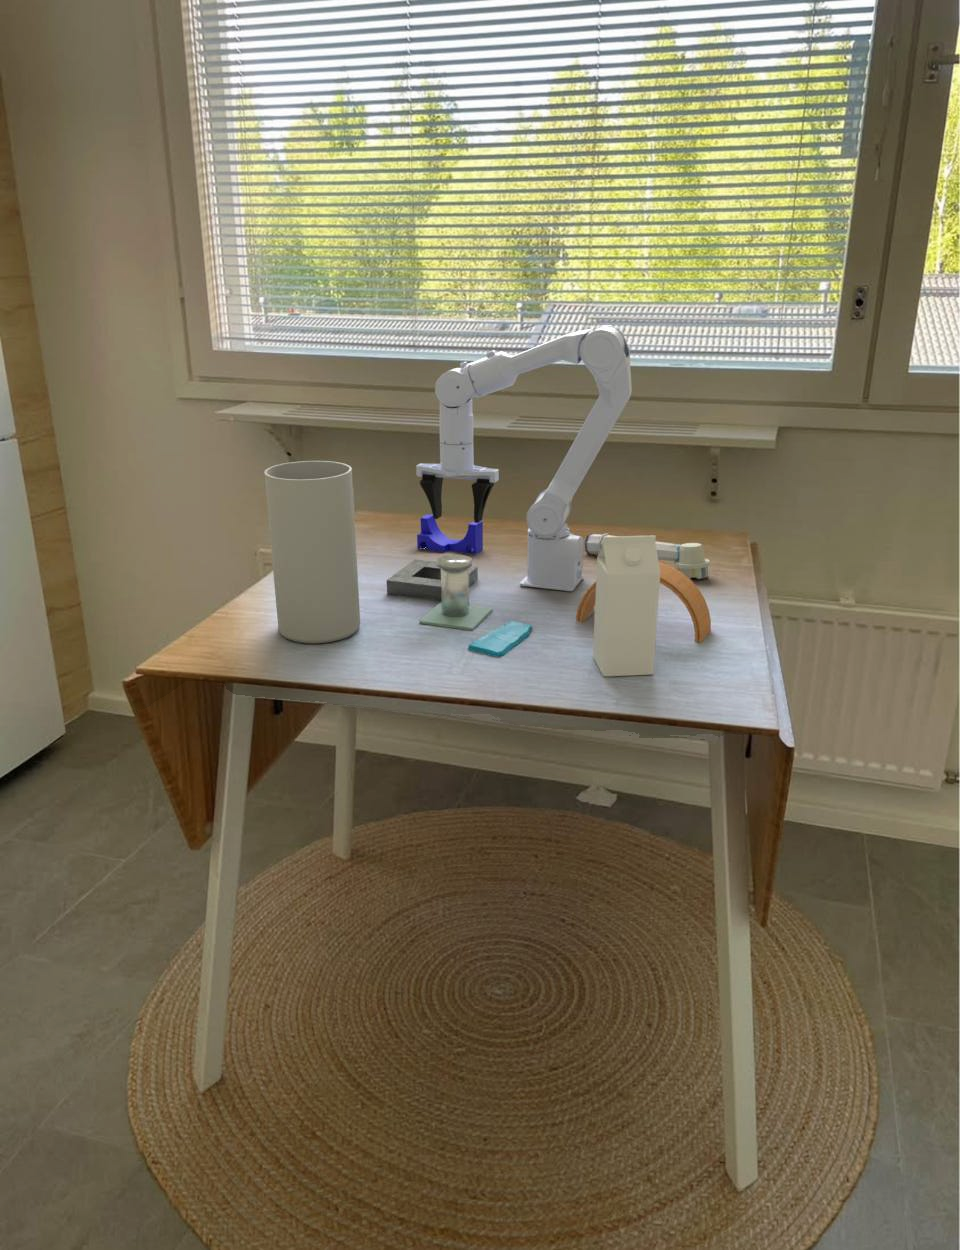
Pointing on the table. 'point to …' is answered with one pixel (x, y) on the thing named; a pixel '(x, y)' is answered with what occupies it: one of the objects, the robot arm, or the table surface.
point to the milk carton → (626, 605)
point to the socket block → (422, 580)
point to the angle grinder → (666, 555)
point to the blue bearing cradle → (440, 542)
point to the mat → (456, 618)
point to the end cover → (455, 584)
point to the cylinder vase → (313, 550)
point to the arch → (679, 586)
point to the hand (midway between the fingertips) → (457, 519)
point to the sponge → (501, 639)
